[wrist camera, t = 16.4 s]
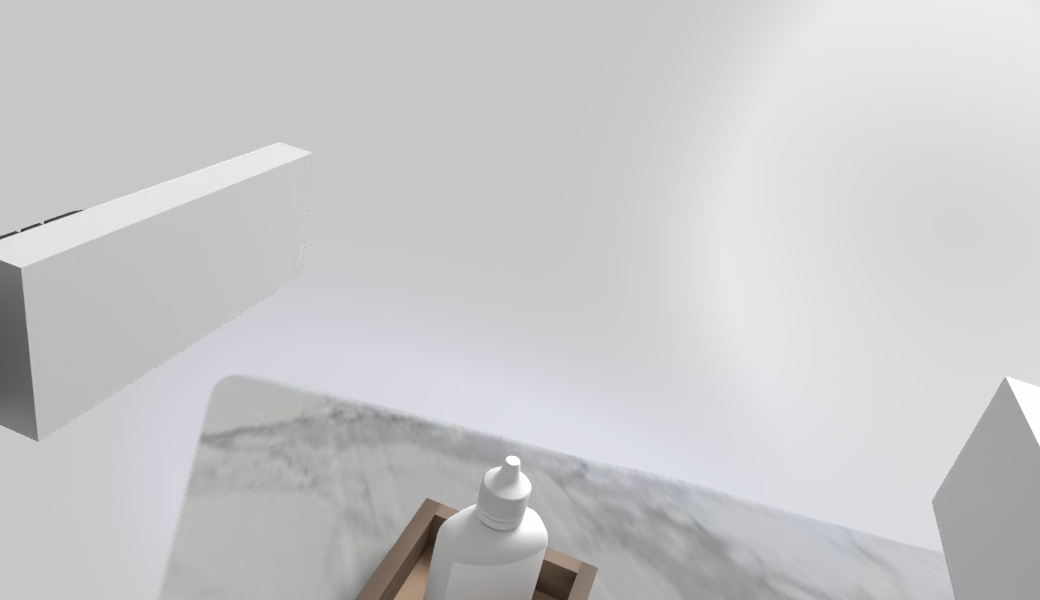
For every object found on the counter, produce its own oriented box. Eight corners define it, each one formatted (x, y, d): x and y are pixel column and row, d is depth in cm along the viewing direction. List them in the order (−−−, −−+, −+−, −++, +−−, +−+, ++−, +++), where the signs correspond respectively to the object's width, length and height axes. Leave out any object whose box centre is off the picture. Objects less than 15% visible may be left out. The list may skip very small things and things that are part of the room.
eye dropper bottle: (514, 678, 41) (566, 505, 35) (409, 651, 41) (446, 475, 35) (524, 611, 44) (573, 447, 39) (429, 587, 45) (464, 420, 39)
